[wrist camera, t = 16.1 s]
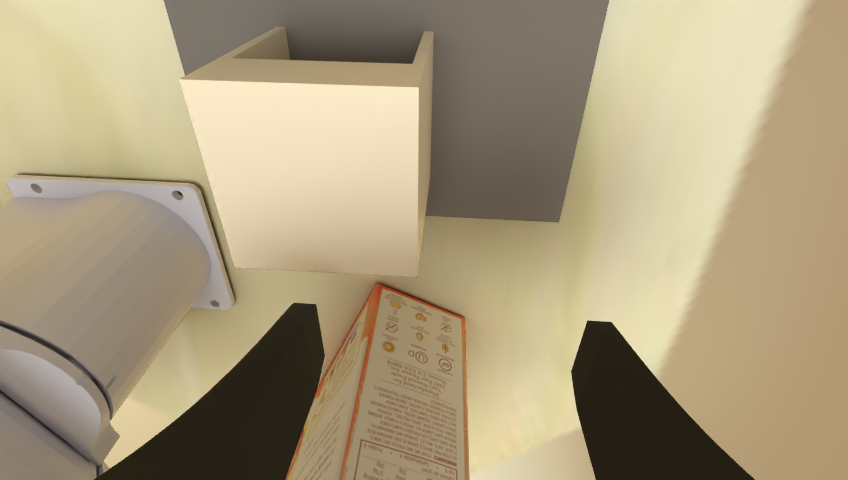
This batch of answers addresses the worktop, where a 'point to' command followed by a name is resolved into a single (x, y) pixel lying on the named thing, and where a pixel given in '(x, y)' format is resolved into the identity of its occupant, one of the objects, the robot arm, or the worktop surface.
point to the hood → (316, 157)
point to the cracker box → (391, 398)
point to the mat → (446, 81)
